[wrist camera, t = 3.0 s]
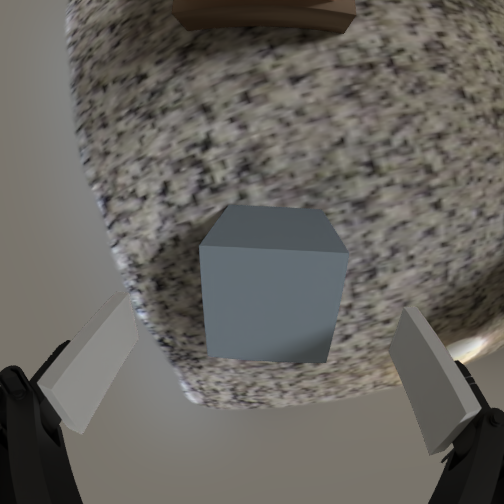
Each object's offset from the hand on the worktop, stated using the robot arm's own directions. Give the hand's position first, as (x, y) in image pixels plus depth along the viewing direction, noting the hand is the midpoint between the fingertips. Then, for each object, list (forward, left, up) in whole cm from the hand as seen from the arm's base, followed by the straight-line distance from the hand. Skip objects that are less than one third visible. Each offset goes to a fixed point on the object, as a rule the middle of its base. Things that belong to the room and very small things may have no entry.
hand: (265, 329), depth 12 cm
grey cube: (0, 0, -9) cm, 9 cm away
